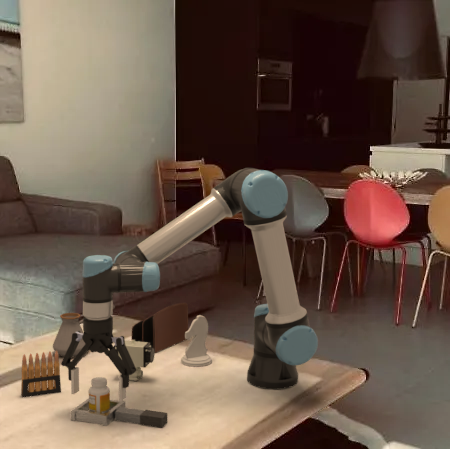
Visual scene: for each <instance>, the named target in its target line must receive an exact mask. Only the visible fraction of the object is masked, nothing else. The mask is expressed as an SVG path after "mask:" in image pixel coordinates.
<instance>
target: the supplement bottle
mask: <svg viewBox="0 0 450 449" xmlns="http://www.w3.org/2000/svg"><path fill="white" fill-rule="evenodd" d="M90 382H91V386H90V387H89V388H88V398H89V410H88V411H90V412H97V413H103V414H106V413H107V412H108V411H110V400H111V396H110V395H111V394H110V393H111V392H110V388H109V386H108V379H107V378H106V377H103V376H97V377H93V378H92V379H91V381H90Z"/></svg>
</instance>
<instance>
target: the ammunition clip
mask: <svg viewBox="0 0 450 449" xmlns="http://www.w3.org/2000/svg"><path fill="white" fill-rule="evenodd" d="M27 361H28V364H27ZM40 362H41V364H40ZM60 367H61V366H60V358H59V354H58V352H57V351H56V352H55V351H54V361H53V354H52V352H51V351H49V352H48V356H47V359H46V354H45V352H44V351H43V352H42V353H41V361H40V356H39V353H38V352H36V354H35V358H33V355H32V353H30V354H29V356H28V360H27V356H26V354H25V353H24V354H23V355H22V362H21V387H20V388H21V389H20V392H21V393H20V395H21V397H22V398H23V397H24V398H29V397H30V396H31V397H38V396H44V395H51V394H52V395H53V394H59V393H62V386H61V374H60V373H61V372H60V369H61V368H60ZM31 397H30V398H31Z"/></svg>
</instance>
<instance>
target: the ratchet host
mask: <svg viewBox="0 0 450 449" xmlns="http://www.w3.org/2000/svg"><path fill="white" fill-rule="evenodd" d="M70 421H74V422H76V421H77V422H85V423H89V424H90V423H91V424H97V425H102V426H104V427H107V426H109V424H111V423H112V422H113V421H117V422H122V423H129V424H135V425H141V426H146V427H147V426H148V427H154V428H160V429H162V428H163V427H165V425H167V424H168V412H166V411H164V412H163V411H157V410H152V409H151V410H150V409H145V410H144V409H137V408H136V409H135V408H130V407H126V400H123V401H119V400H116V399H110V411H108V412H107V413H106V414H103V413H97V412H90V411H89V397H88V398H87V399H86V400H84V401H83V402H81V403H80V404H79V405H78V406H76V407H75V408H73V409H72V410H70Z"/></svg>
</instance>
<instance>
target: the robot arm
mask: <svg viewBox="0 0 450 449" xmlns="http://www.w3.org/2000/svg"><path fill="white" fill-rule="evenodd" d="M288 199H289V192H288V187H287V184H285V182H284V181H283V179H282V178H281V177H279V175H277V174H276V173H273V172H272V171H270V170H264V169H258V168H255V167H245V168H243V169H239V170H237V171H236V172H234V173H233V174H231V175H229V176H228V177H227V178H225V179H224V180H223V181H221V182H220V183H218V184H217V185H216V186H214V187H213V188H211V190H210V194H209V195H208V196H206V197H205V198H203V199H202V200H200V201H199V202H197V203H196V204H195V205H193V206H191V207H190V208H189V209H187V210H186V211H184V212H183V213H182V214H179V215H178V217H176V218H174V219H173V220H171V221H169V223H167V224H166V225H164V226H163V227H161V228H159V229H158V230H157V231H155V232H154V233H153V234H151V235H150V236H148V237H147V238H146V239H143V241H141V242H140V243H137V245H135V246H133V247H131V249H129V250H123V251H121V252H119V253H117V255H115V257H114V259H113V257H112V256H110V255H105V254H103V255H102V254H101V255H100V254H95V255H89V256H86V257H85V258H84V259H83V261H82V274H81V276H82V280H81V282H82V316H83V317H82V320H83V323H82V330H83V333H84V334H83V333H81V332H80V331H77V332H75V333H73V334H72V341H71V343H70V346H69V348H68V350H67V352H66V354H65V356H64V357H62V360H61V362H60V363H61V366H62V367H66V368H67V370H68V371H67V372H68V373H67V374H68V375H67V376H68V381H69V382H70V385H71V386H70V387H71V388H70V390H71V395H75V394H77V393H78V392H80V367H79V366H77V365H78V364H79V362H80V361H81V360H82V359H83V358H84V357H85V356H86V354H88V352H89V351H90V352H91V353H99V354H103V353H104V354H105V356H107V357H108V358H109V360H110V361H111V363H112V364H113V365H114V367H115V368H116V369H117V371H118V372H119V374H120V375H119V376H118V401H125V399H126V398H127V388H128V387H130V380H129V375H132V374H133V373H134V372H136V368H135V365H134V363H133V361H132V359H131V356H130V354H129V352H128V350H127V348H126V345H125V341H126V340H125V336H124V335H120V336H114V335H113V330H114V319H113V314H114V312H113V311H114V306H113V305H114V303H113V301H114V300H113V299H114V298H113V294H118V293H142V292H143V293H147V292H153V291H157V290H158V289H159V287H160V283H161V282H160V281H161V272H160V267H159V265H158V264H160V263H161V262H162V261H164V260H165V259H167V258H168V257H170V256H171V255H173V254H174V253H176V252H177V251H179V250H180V249H181V248H183V247H184V246H186V245H187V244H189V243H190V242H191V241H193V240H195V239H196V238H197V237H199V236H201V235H202V234H203V233H204V232H205V231H208V230H209V229H210V228H211V227H214V226H215V225H216V224H217V223H219V222H220V221H222V220H223V219H225V218H227V217H228V218H232V217H234V216H235V215H236V214H237V215H238V214H239V213H241V215H242V216H241V217H242V219H243V224H244V226H246V228H248V229H250V231H251V235H252V239H253V244H254V249H255V253H256V257H257V262H258V268H259V271H260V275H261V276H260V277H261V281H262V285H263V289H264V295H265V298H266V303H263V304H259V305H257V306H256V307H255V308H254V313H253V353H252V354H253V355H252V357H251V361H250V363H249V367H248V369H247V372H246V380H247V382H248V384H250V385H252V386H254V387H257V388H261V389H267V390H279V389H280V390H281V389H288V388H291V387H294V386H296V385H297V384H298V383H299V372H298V369H297V366H300V365H301V366H302V365H304V364H305V363H307V362H309V361H310V360H311V359H312V358H313V357H314V355H315V354H316V352H317V351H318V350H317V349H318V347H319V346H318V345H319V338H318V335H317V334H316V331H315V329H313V328H312V327H311V326H310V320H309V316H308V312H307V309H306V308H305V307H303V306H301V305H300V301H299V296H298V291H297V285H296V281H295V277H294V276H295V275H294V271H293V266H292V260H291V257H290V251H289V247H288V242H287V238H286V233H285V228H284V221H285V220H286V219H287V218H288V217H287V216H288V215H287V214H288V213H287V209H286V206H287V204H288ZM82 339H83V341H84V342H85V345H84V347H83V348H82V349H81V351H80V352H79V353H78V354H77V355H76V357H73V354H74V352H75V350H76V348H77V346H78V344H79V342H80V340H82ZM113 343H114V345H115V346H117V349H118V352H119V354H120V356H121V358H122V359H121V358H120V357H119V355H118V354H117V352H116V351H115V348H114V345H113Z"/></svg>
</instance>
